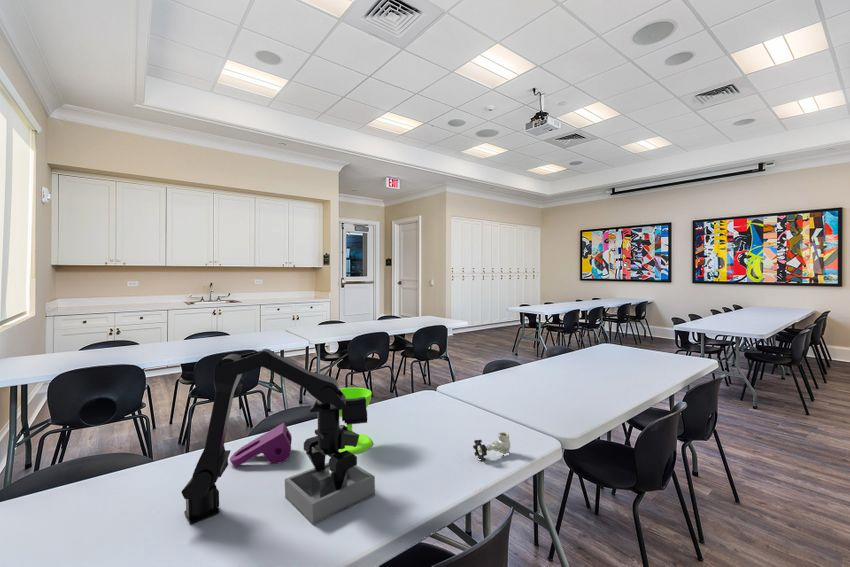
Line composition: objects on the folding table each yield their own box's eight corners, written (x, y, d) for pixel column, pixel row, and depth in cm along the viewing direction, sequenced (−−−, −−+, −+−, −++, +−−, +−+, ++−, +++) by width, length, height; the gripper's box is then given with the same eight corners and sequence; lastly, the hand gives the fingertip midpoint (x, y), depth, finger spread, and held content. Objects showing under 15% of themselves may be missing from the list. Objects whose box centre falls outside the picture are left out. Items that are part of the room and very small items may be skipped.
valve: (503, 448, 129) (473, 456, 124) (502, 429, 129) (472, 436, 124) (515, 457, 123) (484, 465, 118) (515, 436, 123) (484, 444, 118)
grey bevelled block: (320, 503, 98) (319, 480, 98) (312, 496, 102) (311, 474, 101) (347, 491, 104) (346, 469, 104) (338, 485, 107) (338, 463, 107)
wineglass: (352, 459, 124) (351, 403, 123) (316, 449, 131) (315, 397, 131) (381, 440, 138) (380, 390, 137) (347, 432, 145) (346, 385, 145)
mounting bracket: (240, 487, 119) (295, 454, 124) (227, 465, 118) (282, 432, 122) (245, 473, 128) (295, 442, 133) (232, 452, 127) (284, 422, 131)
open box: (312, 524, 91) (312, 504, 91) (285, 497, 102) (284, 479, 102) (374, 494, 103) (374, 476, 103) (343, 473, 115) (343, 456, 115)
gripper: (373, 427, 101) (374, 485, 101) (337, 410, 115) (338, 461, 115) (336, 439, 93) (337, 502, 94) (302, 419, 107) (303, 475, 107)
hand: (329, 483), depth 103 cm, fingers open, 9 cm apart
